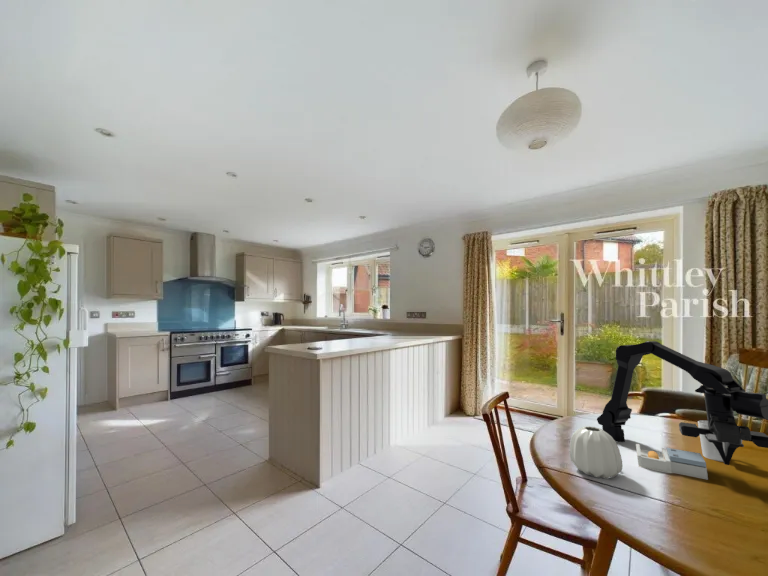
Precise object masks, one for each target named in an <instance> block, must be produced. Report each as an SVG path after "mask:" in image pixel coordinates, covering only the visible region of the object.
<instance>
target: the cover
mask: <svg viewBox="0 0 768 576" xmlns="http://www.w3.org/2000/svg"><path fill="white" fill-rule="evenodd" d="M666 451H667V453H668V456H669V458H670V461H676V462H681V463H687V464H692V465H697V466H703V467H706V468H707V462H706V460H705V459H704V456H703V455H702V454H701V453H700V452H696V451H689V450H681V449H675V448H670V447H666Z"/></svg>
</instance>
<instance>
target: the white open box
mask: <svg viewBox="0 0 768 576" xmlns="http://www.w3.org/2000/svg"><path fill="white" fill-rule="evenodd" d="M635 447H636V448H635V450H636V456H637V464H638V468H643V469H647V470H652V471H657V472H662V473H667V474H670V475H671V474H678V475H681V476H687V477H693V478H698V479H703V480H709V477H708V468H707V466H706V467H703V466H697V465H692V464H687V463H681V462H676V461H670V458H669V456H668V453H667V448H663V447H661V452H658V451H655V452H656V453H657V454H658V456H659V459H654V458H649V457H648V452H649V451H650V450H647V449H641V445H640V444H639V443H635Z"/></svg>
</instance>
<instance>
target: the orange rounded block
mask: <svg viewBox="0 0 768 576" xmlns="http://www.w3.org/2000/svg"><path fill="white" fill-rule="evenodd" d="M648 451H649V452H648V457H649V458H654V459H659V456H658V454H657V453H656V452H657V451H654V450H648Z"/></svg>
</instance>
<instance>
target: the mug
mask: <svg viewBox="0 0 768 576" xmlns="http://www.w3.org/2000/svg"><path fill="white" fill-rule="evenodd" d="M697 427H698V428H705V429H709V428H708V420H698V421H697ZM699 438H700V439H699V440H700V445H701V452H702V454H701V455H702V457H703V458H704V457H705V458H706V459H709V460H712V461H716V462H723V460H722V458H721V456H720V454H719V452H718V451H717V449H716V447H715V445H714V444H713V443H712V442H709V441H708V440H707V439H706V438H705V435H702V434H700V435H699ZM722 443H723V449H724V453H725V444H724V442H722Z"/></svg>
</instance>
